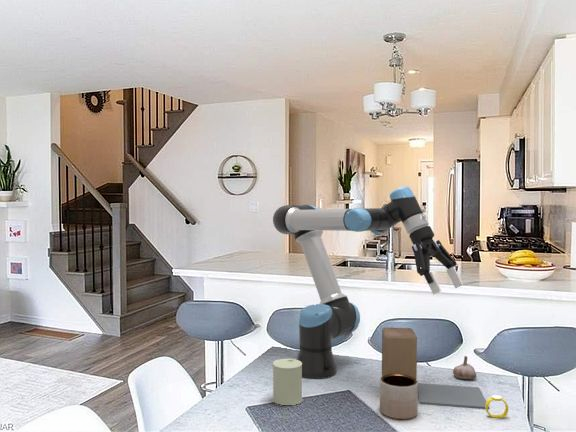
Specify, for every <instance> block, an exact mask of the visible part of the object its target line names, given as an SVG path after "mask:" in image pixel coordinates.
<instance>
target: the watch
mask: <svg viewBox="0 0 576 432" xmlns="http://www.w3.org/2000/svg"><path fill="white" fill-rule="evenodd" d="M493 401H496V402H500V401H502V402H503V403H504V404H505V405H504V406H505V408H504V409H505V410H504V412H502V414H500V415H499V414H491V413H490V411H489V409H488V406H489V405H490V403H491V402H493ZM484 410H485V411H486V414H487V415H488V416H489V417H490V418H495V419H503V418H505V417H506V416H507V414H508V412H509V405H508V403H507V402H506V400H505V399H504V398H503V397H502V395H498V394H493V395H491V397H490V398H488V399H487V400H486V405H485V409H484Z"/></svg>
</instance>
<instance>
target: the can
mask: <svg viewBox="0 0 576 432" xmlns="http://www.w3.org/2000/svg"><path fill="white" fill-rule="evenodd" d="M296 359H297V358H296ZM296 359H295V358H280V359H276V360H274V361H273V362H272V376H273V377H272V379H273V380H272V384H273V385H272V390H273V391H272V402H273V403H274V402H275V403H274V404H276V403H277V404H276V405H278V404H281V405H280V406H282V405H293V406H297V405H299V404H301V403H302V402H303V391H302V390H303V389H302V388H303V385H302V384H303V383H302V382H303V377H302V362H301V361H299V360H296ZM296 404H297V405H296Z"/></svg>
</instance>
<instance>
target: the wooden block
mask: <svg viewBox="0 0 576 432" xmlns="http://www.w3.org/2000/svg"><path fill="white" fill-rule="evenodd" d="M414 331H415V330H413V328H411V327H387V326H386V327H383V328H382V331H381V377H382V376H384V375H388V374H403V375H408V376H411V377H413V378H415V379H416V380H417V378H418V377H417V372H418V370H417V368H418V364H417V362H418V337H417V335H416V333H415V332H414ZM417 381H418V380H417Z"/></svg>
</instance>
